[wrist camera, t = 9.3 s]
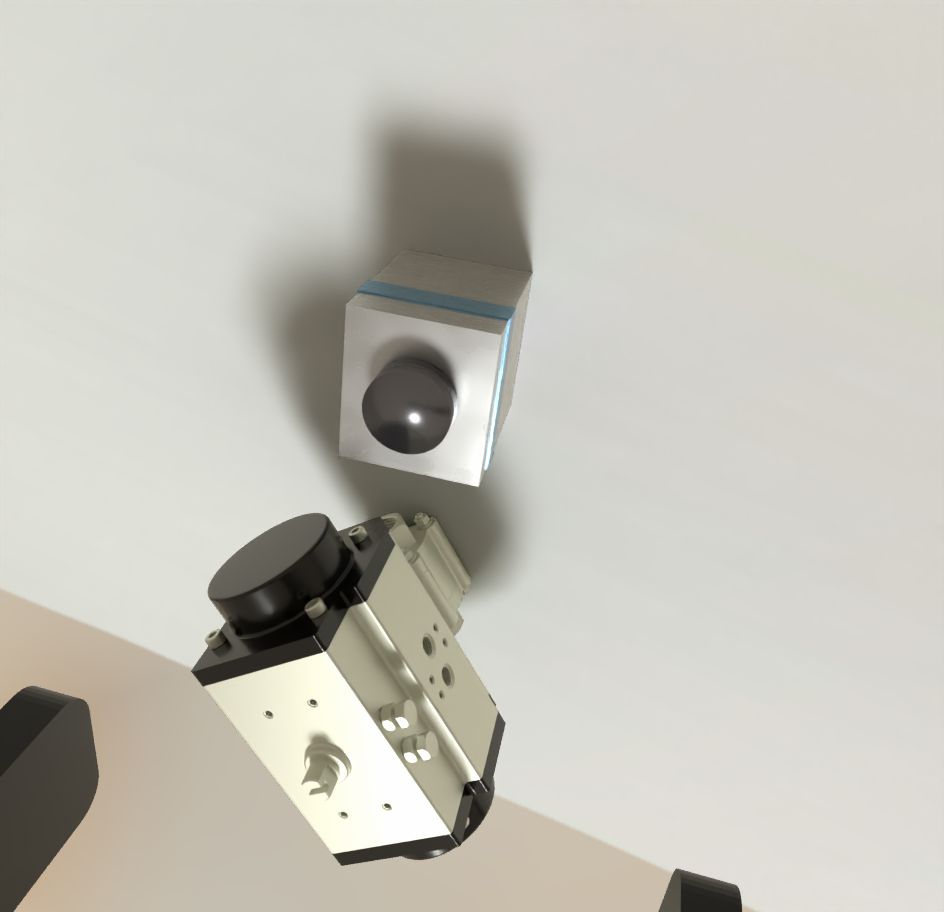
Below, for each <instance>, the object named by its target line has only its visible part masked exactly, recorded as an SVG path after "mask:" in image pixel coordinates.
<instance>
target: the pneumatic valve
mask: <svg viewBox="0 0 944 912" xmlns="http://www.w3.org/2000/svg"><path fill="white" fill-rule="evenodd" d="M414 522H415V523H416V525H415V526H411V527H407V525H406V523H405V522H404V520H403V518H402V517H401V515H400V514H399V513H390V514H386V515H384V516H381V517H378V518H375V519H372V520H369V521H366V522H364V523H361V524H358V525H355V526H352V527H349V528H346V529H344V530H341V531H338V532H337V530H336V528H335V527H334V525H333V524H332V522H331V521H330V519H329V518H328V517H327V516H326V515H324V514H321V513H310V514H305V515H301V516H298V517H295V518H292V519H290V520H287V521H285V522H283V523H281V524H279V525H277V526H275V527H273V528H271V529H269V530H268V531H266V532H264V533H262V534H261V535H259V536H258V537H256V538H255V539H253V540H252V541H250V542H249V543H248V544H246V545H245V546H244V547H242V548H241V549H240V550H239V551H237V552H236V553H235V554H234V555H233V556H232V557H231V558H229V559H228V560H227V561H226V562H225V563H224V564H223V566H222V567H221V568H220V569H219V570H218V571H217V573H216V574H215V575H214V577H213V578H212V580H211V582H210V584H209V587H208V597H209V599H210V600H211V601H212V603H213V604H214V606H215V607H216V608H217V610H218V611H219V612H220V614H221V615H222V616H223V618H224V619H225V621H226V623H225V624H224V625H223V627H222V628H221V630H220V629H217V630H214V631H212V632H211V633H210V634H209V635H208V636H207V637H206V639H205V642H206V643H207V644H208V648H207V649H206V651H205V652H204V653H203V655H202V656H201V658H200V659H199V661H198V662H197V663H196V665H195V666H194V668H193V669H192V670H191V672H192V673H193V674H194V676H195V677H196V678H197V679H198V681H199V682H200V683H201V685H202V686H203V687H204V688H205V690H206V691H207V692H208V694H209V695H210V696H211V698H212V699H213V700H214V701H215V703H216V704H217V705H218V707H219V708H220V709H221V711H222V712H223V713H224V714H225V716H226V717H227V718H228V720H229V721H230V722H231V723H232V725H233V726H234V727H235V729H236V730H237V731H238V733H239V734H240V735H241V736H242V738H243V739H244V740H245V742H246V743H247V744H248V745H249V747H250V748H251V749H252V751H253V752H254V753H255V755H256V756H257V757H258V758H259V760H260V761H261V762H262V764H263V765H264V766H265V768H266V769H267V770H268V771H269V773H270V774H271V775H272V777H273V778H274V779H275V780H276V782H277V783H278V784H279V786H280V787H281V788H282V790H283V791H284V792H285V793H286V795H287V796H288V797H289V799H290V800H291V801H292V802H293V804H294V805H295V806H296V808H297V809H298V810H299V811H300V813H301V814H302V815H303V817H304V818H305V819H306V821H307V822H308V823H309V824H310V826H311V827H312V828H313V830H314V831H315V832H316V834H317V835H318V836H319V837H320V839H321V840H322V841H323V842H324V844H325V845H326V846H327V848H328V849H329V850H330V852H331V853H332V854H333V856H334V857H335V858H336V859H337V861H338V862H339V863H340V865H342V866H343V865H349V864H355V863H361V862H368V861H374V860H379V859H386V858H393V857H398V856H403V857H405V858H407V859H413V860H424V859H430V858H434V857H437V856H440V855H442V854H445V853H447V852H449V851H450V850H452V849H454V848H455V847H459V846H460V845H461V843H462V842H463V841H465V840H466V839H467V838H468V837H469V836H470V835H471V834H472V833H473V832H474V831H475V830H476V829H477V828H478V826H479V825H480V824H481V822H482V821H483V820H484V818H485V816H486V814H487V813H488V811H489V809H490V806H491V803H492V800H493V797H494V790H495V787H494V778H493V775H494V771H495V767H496V762H497V758H498V754H499V749H500V745H501V740H502V736H503V732H504V727H505V721H504V720H503V718H502V717H501V715H500V713H499V712H498V710H497V708H496V704H495V702H494V701H493V699H492V697H491V696H490V694H489V693H488V691H487V689H486V688H485V686H484V684H483V683H482V681H481V679H480V678H479V676H478V675H477V673H476V671H475V670H474V668H473V666H472V665H471V663H470V662H469V660H468V658H467V657H466V655H465V653H464V652H463V650H462V649H461V647H460V645H459V644H458V642H457V640H456V639H455V637H454V636H455V635H456V634H457V633H458V631H459V630H460V628H461V626H462V624H463V622H464V620H463V618H462V616H461V615H460V613H459V611H458V610H457V609H458V607H459V605H460V603H461V600H462V595H465V594H466V593H468V592H469V590H470V587H469V585H470V583H471V578H470V577H469V575H468V573H467V572H466V570H465V568H464V566H463V565H462V563H461V561H460V560H459V558H458V556H457V554H456V553H455V551H454V549H453V548H452V546H451V544H450V543H449V541H448V539H447V537H446V536H445V534H444V532H443V531H442V529H441V527H440V525H439V524H438V522H437V520H436V519H435V518H434V517H431V518H428V516H427V514H426V513H418V514H416V516H415V519H414Z"/></svg>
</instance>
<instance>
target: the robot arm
mask: <svg viewBox="0 0 944 912" xmlns="http://www.w3.org/2000/svg"><path fill="white" fill-rule="evenodd" d="M98 778H99V773H98V765H97V758H96V751H95V745H94V738H93V731H92V725H91V718H90V711H89V707H88V705H87V703H86V702H85V701H84V700H82V699H79V698H76V697H72V696H68V695H65V694H61V693H58V692H54V691H51V690H47V689H43V688H39V687H36V686H30V687H26V688H24V689H22V690H21V691H19V692H18V693H17V694H16V695H14V696H13V697H12V698H11V699H10V700H9V701H8V702H7V703H6V704H5V705H4V706H3V707H2V709H0V912H13V911H14V910H15V909H16V908H17V906H18V905H19V903H20V902H21V901H22V900H23V898H24V897H25V896H26V894H27V893H28V892H29V890H30V889H31V887H32V886H33V885H34V884H35V882H36V881H37V880H38V878H39V877H40V876H41V874H42V873H43V872H44V870H45V869H46V868H47V866H48V865H49V864H50V862H51V861H52V860H53V858H54V857H55V856H56V854H57V853H58V852H59V851H60V849H61V848H62V847H63V845H64V844H65V842H66V841H67V840H68V838H69V837H70V836H71V834H72V833H73V832H74V831H75V829H76V828H77V827H78V825H79V824H80V823H81V821H82V820H83V818H84V817H85V815H86V813H87V812H88V810H89V808H90V806H91V804H92V801H93V799H94V796H95V793H96V789H97V785H98ZM659 912H742V903H741V895H740V891H739V888H738V886H737V885H734V884H731V883H727V882H723V881H720V880H716V879H713V878H709V877H706V876H702V875H698V874H695V873H691V872H688V871H684V870H681V869H676V870H675V871H674V873H673V875H672V877H671V880H670V883H669V885H668V888H667V891H666V894H665V896H664V899H663V901H662V904H661V907H660V909H659Z"/></svg>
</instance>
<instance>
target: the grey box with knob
mask: <svg viewBox="0 0 944 912" xmlns="http://www.w3.org/2000/svg"><path fill="white" fill-rule="evenodd" d="M532 274H533V273H531V272H526V271H521V270H515V269H510V268H504V267H499V266H494V265H488V264H483V263H477V262H472V261H467V260H461V259H456V258H450V257H445V256H440V255H434V254H429V253H423V252H418V251H413V250H407V249H404V250H403V251H401V252H400V253H399V254H398V255H397V256H396V257H395V258H394V259H393V260H392V261H391V262H390V263H389V264H388V265H387V266H386V267H385V268H384V269H383V270H382V271H381V272H379V273H378V274H377V275H376V276H375V277H374V278H373V279H372V280H368V281H367V282H366V283H364V284H363V285H362V286H361V287H360V288H359V289H358V294H356V295H355V296H354V297H353V298H352V299H351V300H350V301H349V302H348V303H347V304H346V311H345V332H344V352H343V373H342V394H341V414H340V435H339V457H344V458H348V459H353V460H358V461H362V462H367V463H371V464H376V465H380V466H385V467H390V468H394V469H399V470H403V471H408V472H413V473H417V474H422V475H426V476H431V477H436V478H440V479H445V480H449V481H454V482H458V483H463V484H468V485H472V486H477V487H479V485H480V482H481V480H482V477H483V475H484V472H485V470H486V469H488V467H489V464H490V462H491V459H492V457H493V454H494V447H495V444H496V442H497V439H498V437H499V434H500V432H501V429H502V427H503V424H504V421H505V419H506V416H507V414H508V411H509V409H510V406H511V403H512V397H513V390H514V384H515V378H516V372H517V366H518V360H519V354H520V348H521V341H522V335H523V329H524V323H525V317H526V311H527V305H528V299H529V292H530V286H531V280H532Z"/></svg>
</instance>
